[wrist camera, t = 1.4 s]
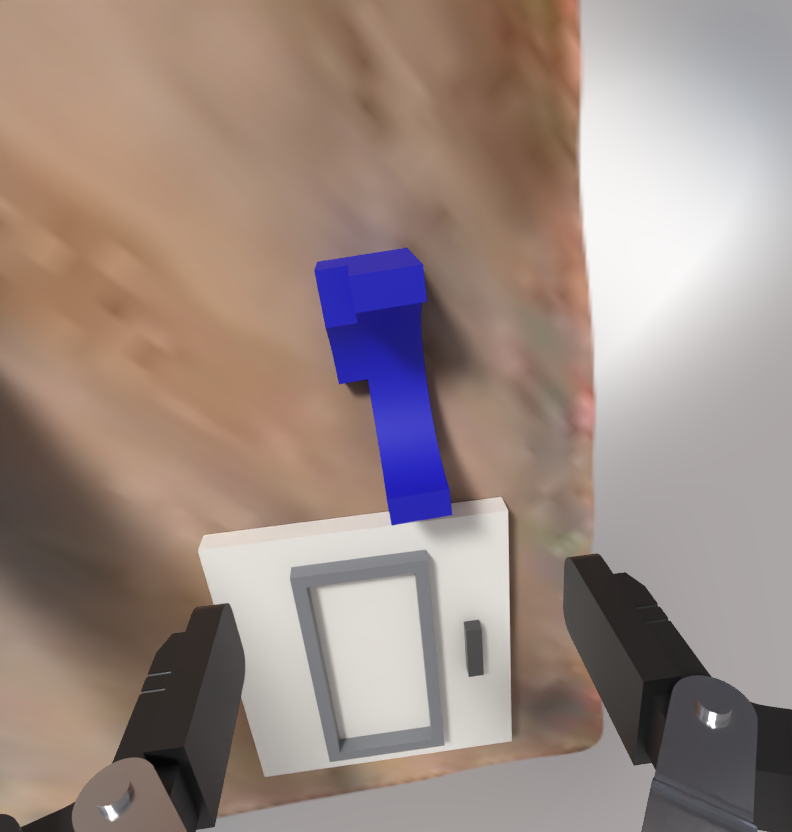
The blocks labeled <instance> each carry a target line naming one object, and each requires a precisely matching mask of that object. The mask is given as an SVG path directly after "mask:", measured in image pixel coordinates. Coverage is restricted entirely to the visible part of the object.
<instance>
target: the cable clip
mask: <svg viewBox="0 0 792 832" xmlns="http://www.w3.org/2000/svg"><path fill="white" fill-rule="evenodd" d="M315 276H316V281H317V286H318V291H319V296H320V301H321V306H322V312H323V317H324V322H325V327H326V331H327V334H328V338H329V341H330V345H331V349H332V353H333V358H334V362H335V367H336V372H337V376H338V381H339V384H343V383H349V382H355V381H361V380H367V379H368V384H369V389H370V395H371V401H372V407H373V413H374V419H375V425H376V431H377V438H378V444H379V450H380V456H381V463H382V469H383V475H384V482H385V489H386V496H387V502H388V508H389V514H390V519H391V525H398V524H404V523H410V522H415V521H421V520H427V519H433V518H439V517H445V516H450V515H452V507H451V499H450V490H449V486H448V483H447V480H446V476H445V473H444V469H443V465H442V461H441V457H440V453H439V448H438V444H437V439H436V434H435V429H434V423H433V418H432V412H431V407H430V401H429V394H428V388H427V381H426V373H425V365H424V356H423V346H422V333H421V307H422V302H427V296H426V287H425V279H424V270H423V264H422V263H421V262H420V261H419V260H418V259H417V258H416V257H415V256H414V255H413V254H412V253H411V252H410V250H409V249H408V248H403V249H397V250H390V251H384V252H377V253H371V254H365V255H358V256H352V257H346V258H339V259H333V260H327V261H320V262H317V264H316V267H315Z"/></svg>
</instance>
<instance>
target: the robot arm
mask: <svg viewBox="0 0 792 832" xmlns="http://www.w3.org/2000/svg"><path fill="white" fill-rule="evenodd" d="M563 610H564V617H565V622H566V625H567V629H568V631H569V634H570V636H571V638H572V640H573V642H574V644H575V646H576V648H577V650H578V652H579V654H580V656H581V658H582V660H583V663H584V665H585V667H586V669H587V671H588V673H589V675H590V677H591V679H592V681H593V683H594V685H595V687H596V689H597V691H598V693H599V695H600V697H601V699H602V701H603V703H604V705H605V707H606V709H607V711H608V713H609V716H610V718H611V720H612V722H613V724H614V726H615V728H616V730H617V732H618V734H619V736H620V738H621V740H622V742H623V744H624V746H625V748H626V750H627V752H628V754H629V756H630V758H631V760H632V762H633V764H634V765H640V764H647V763H652V764H653V765H654V768H655V770H656V772H655V776H654V778H653V780H652V784H651V788H650V793H649V798H648V802H647V807H646V812H645V817H644V822H643V826H642V831H641V832H757V830H763V831H767V832H792V710H790V709H783V708H777V707H770V706H764V705H758V704H755V703H752V702H750V701H749V700H748V699H747V698H746V697H745V696H744V695H743V694H742V693H741V692H740V691H739V690H737V689H736V688H734V687H733V686H731V685H730V684H728V683H726V682H724V681H721V680H719V679H716V678H713V677H711V676H710V674H709V673H708V672H707V670H706V669H705V668H704V666H703V665H702V664H701V662H700V661H699V660H698V658H697V657H696V655H695V654H694V653H693V651H692V650H691V649H690V647H689V646H688V645H687V643H686V642H685V640H684V639H683V638H682V636H681V635H680V634H679V632H678V631H677V629H676V628H675V627H674V625H673V624H672V623H671V621H668V617H667V616H666V615H665V613H664V612H663V611H662V609H661V608H660V607H658V605H657V602H656V601H655V600H654V598H653V597H652V595H651V594H650V593H649V591H648V590H647V588H646V587H645V586H644V585H642V584H641V583H639V582H638V581H637V580H635V579H634V578H633V577H631V576H630V575H628V574H627V573H625V572H624V573H617V574H613V573H612V571H611V570H610V569H609V567H608V565H607V564H606V562H605V561H604V560H603V558H602V557H601V556H600V555H599V554H590V555H583V556H575V557H568V558H566V560H565V566H564V599H563ZM244 679H245V655H244V650H243V646H242V642H241V639H240V635H239V632H238V628H237V625H236V621H235V618H234V614H233V611H232V608H231V606H230V604H229V603H224V604H216V605H209V606H202V607H196V608H195V609H194V610H193V612H192V615H191V618H190V621H189V623H188V626H187V629H186V632H182V633H175V634H172V635H171V636H170V637H169V639H168V640H167V641H166V642H165V643H164V644H163V646H162V647H161V648H160V649H159V650H158V652H157V653H156V655H155V658H154V660H153V663H152V665H151V668H150V670H149V673H148V678H146V680H145V683H144V685H143V688H142V690H141V691H142V693H141V695H139V698H138V700H137V703H136V705H135V708H134V710H133V713H132V715H131V718H130V720H129V723H128V725H127V728H126V730H125V733H124V735H123V738H122V740H121V743H120V745H119V748H118V750H117V753H116V755H115V758H114V760H113V762H112V764H110V765H109V766H107V767H105V768H104V769H102V770H101V771H100V772H98V773H97V774H96V775H95V776H94V777H93V778H92V779H91V780H90V781H89V782H88V783H87V784H86V785H85V787H84V788H83V789H82V791H81V792H80V794H79V796H78V798H77V799H76V802H74V803H72V804H71V805H69V806H67V807H65V808H63V809H61V810H58V811H56V812H54V813H52V814H49V815H47V816H45V817H43V818H41V819H38V820H36V821H34V822H32V823H29V824H27V825H25V826H23V827H20V826H19V824H18V823H17V821H16V820H15V819H14V818H13V817H12V816H9V815H6V814H0V832H196V830H198V829H204V828H211V827H215V822H216V818H217V813H218V808H219V803H220V798H221V793H222V788H223V783H224V778H225V773H226V768H227V763H228V758H229V753H230V748H231V743H232V738H233V733H234V728H235V724H236V719H237V714H238V709H239V704H240V699H241V694H242V689H243V684H244Z"/></svg>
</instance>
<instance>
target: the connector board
mask: <svg viewBox="0 0 792 832" xmlns="http://www.w3.org/2000/svg"><path fill="white" fill-rule="evenodd" d="M451 507H452V515H450V516H445V517H439V518H433V519H427V520H421V521H415V522H410V523H404V524H398V525H391V519H390V514H389V511H388V512H380V513H372V514H364V515H357V516H349V517H341V518H333V519H325V520H318V521H310V522H302V523H294V524H286V525H279V526H271V527H263V528H255V529H247V530H240V531H232V532H224V533H216V534H208V535H204V536H203V539H202V541H201V544H200V546H199V549H198V553H199V556H200V560H201V563H202V567H203V570H204V573H205V577H206V580H207V583H208V587H209V590H210V594H211V597H212V600H213V604H214V605H216V604H224V603H229V604H230V606H231V608H232V611H233V614H234V618H235V621H236V625H237V628H238V632H239V635H240V639H241V642H242V646H243V650H244V655H245V679H244V684H243V689H242V694H241V699H242V702H243V705H244V709H245V712H246V715H247V719H248V722H249V726H250V729H251V732H252V736H253V739H254V743H255V746H256V749H257V753H258V756H259V759H260V763H261V766H262V770H263V773H264V776H265V777H269V776H276V775H283V774H290V773H297V772H303V771H310V770H317V769H324V768H331V767H338V766H345V765H351V764H358V763H365V762H372V761H379V760H386V759H393V758H399V757H406V756H413V755H420V754H427V753H434V752H441V751H447V750H454V749H461V748H468V747H475V746H482V745H489V744H495V743H502V742H509V741H512V730H511V665H510V601H509V536H508V509H507V507H506V505H505V503H504V501H503V499H502V497H497V498H489V499H481V500H473V501H466V502H458V503H451Z"/></svg>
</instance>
